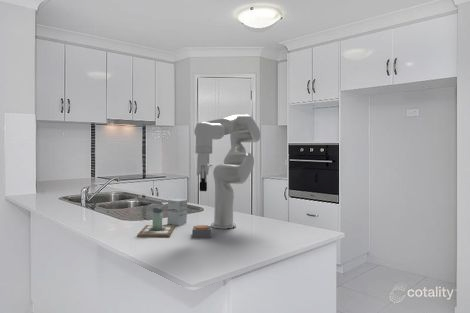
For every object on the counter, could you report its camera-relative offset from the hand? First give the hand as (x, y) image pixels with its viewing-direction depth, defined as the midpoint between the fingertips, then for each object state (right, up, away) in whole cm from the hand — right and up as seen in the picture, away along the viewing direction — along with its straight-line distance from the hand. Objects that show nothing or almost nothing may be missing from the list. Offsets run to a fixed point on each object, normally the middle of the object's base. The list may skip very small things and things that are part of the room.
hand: (203, 190), depth 163 cm
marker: (-22, -18, +5) cm, 29 cm away
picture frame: (-22, -20, +5) cm, 30 cm away
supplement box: (-16, -20, +25) cm, 35 cm away
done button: (-1, -19, 0) cm, 19 cm away
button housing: (-1, -20, 0) cm, 20 cm away
